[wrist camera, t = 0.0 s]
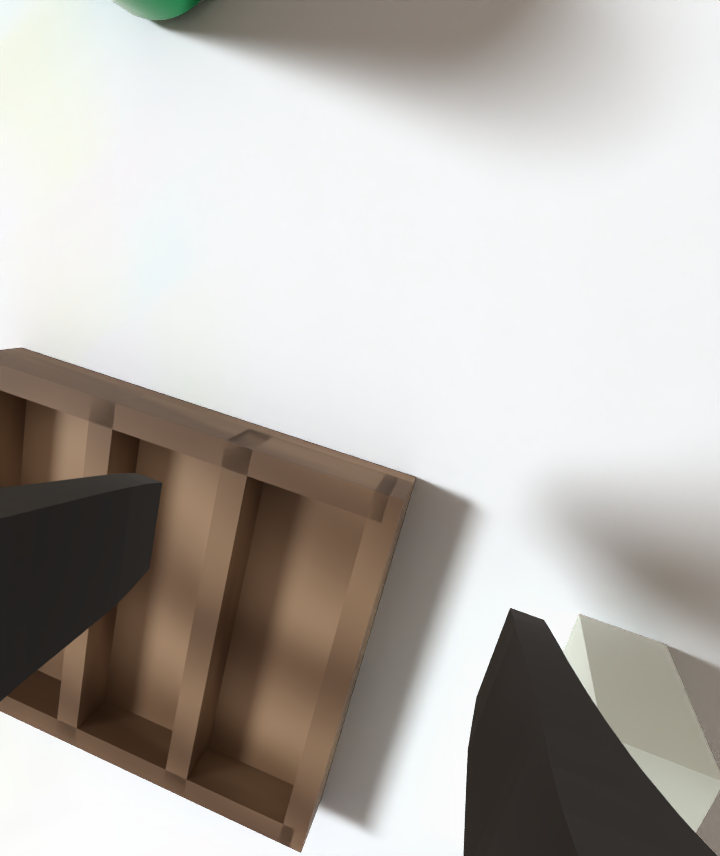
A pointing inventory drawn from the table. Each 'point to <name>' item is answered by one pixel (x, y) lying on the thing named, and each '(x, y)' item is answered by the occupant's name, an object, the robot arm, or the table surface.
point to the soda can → (157, 8)
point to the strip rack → (209, 593)
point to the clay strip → (647, 712)
